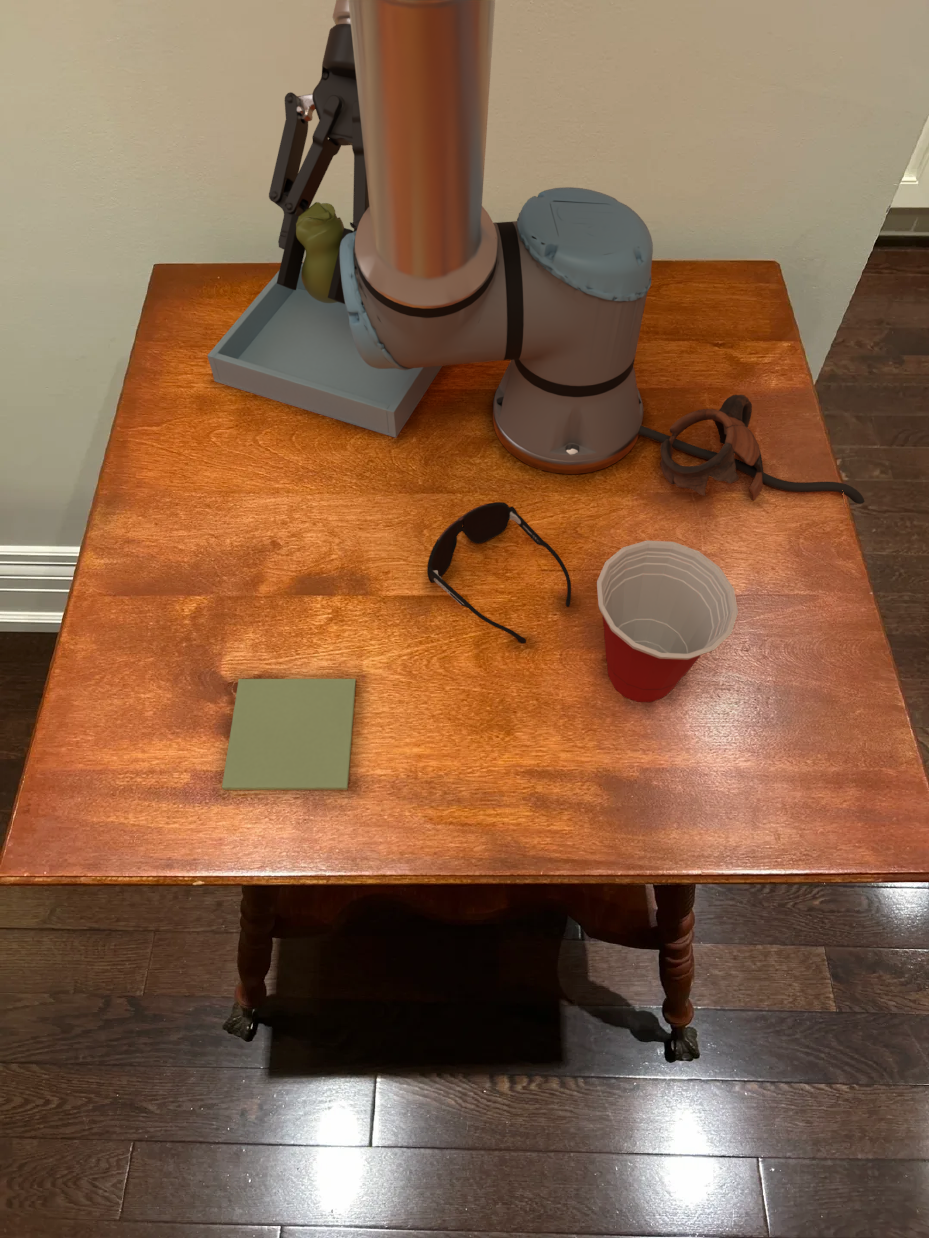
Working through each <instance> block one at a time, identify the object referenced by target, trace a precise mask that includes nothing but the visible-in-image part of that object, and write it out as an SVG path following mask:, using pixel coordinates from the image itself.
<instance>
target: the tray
mask: <svg viewBox="0 0 929 1238" xmlns="http://www.w3.org/2000/svg"><path fill="white" fill-rule="evenodd" d="M303 263H304V261H303V262H302V266H303ZM302 266H301V270H300V275H299V279H298V283H297V288H296V290H292V289H289V288H287V287H284V286H282V285H279V284H277V279H278V275H279V270H278V271H277V273H275V274H274V275H273V277H272V278H271V279H270V280H269V282H268V283H267V284H266V285H265V286H264V288H263V289H262V290H261V291H260V293H259V294H258V295H257V296H256V297H255V298H254V300H253V301H252V302H251V303H250V304H249V305H248V307H247V308H246V309H245V310H244V312H242V314H241V315H240V316H239V317H238V319H237V320H236V321H235V322H234V323H233V325H231V327H230V328H229V329H228V331H227V332H226V333H225V334H224V335H223V336H222V337H221V339H219V341H218V342H217V343H216V344H215V346H214V347H213V348H212V349H211V350H210V351H209V352H208V354H207V359H208V363H209V366H210V367H209V368H210V369H211V373H212V376H213V381H214V382H215V383H218V384H221V385H225V386H227V387H231V388H234V389H237V390H240V391H244V392H247V393H249V394H250V393H251V394H252V395H256V396H259V397H263V398H266V399H270V400H273V401H276V402H279V403H283V404H285V405H289V406H292V407H294V408H295V407H296V408H299V409H301V410H305V411H308V412H311V413H314V414H318V415H320V416H324V417H327V418H331V419H334V420H336V421H340V422H344V423H347V424H349V425H353V426H356V427H359V428H363V429H366V430H369V431H371V432H372V431H373V432H375V433H379V434H383V435H386V436H389V437H392V438H395V439H397V438H398V436H399V434H400V433H401V431H402V430H403V428H404V427H405V425H406V423H407V422H408V420H409V419H410V417H411V416H412V414H413V413H414V411H415V410H416V408H417V406H418V405H419V404H420V402H421V400H422V398H423V397H424V395H425V394H426V392H427V391H428V389H429V388H430V386H431V384H432V383H433V382H434V380H435V378H436V377H437V375H438V374H439V372H440V370H441V369H442V368H443V366H432V367H421V368H412V369H409V370H400V369H398V368H390V369H378V368H374V367H371V366H369V365H368V364H367V363H365V362H364V360H363V359H362V358H361V356H360V354H359V352H358V350H357V347H356V345H355V342H354V339H353V335H352V332H351V328H350V324H349V316H348V312H347V309H346V305H345V304H343V303H340V302H336V303H323V302H320V301H318V300H316V299H315V298H313V297H312V296H311V295H310V294H309V293H308V292H307V290H306V289H305V287H304V285H303V282H302V276H301V271H302Z"/></svg>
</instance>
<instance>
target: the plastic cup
mask: <svg viewBox="0 0 929 1238" xmlns="http://www.w3.org/2000/svg"><path fill="white" fill-rule="evenodd" d="M596 590H597V600H598V610H599V611H600V613H601V616H602V623H603V636H604V650H605V651H604V652H605V661H606V666H607V675H608V678H609V680H610V682H611V684H612V686H613V688H614V690H615V691H616V692H618V693H619V694H620V695H622V696H623V697H624V698H626V699H629V700H632V701H634V702H637V703H653V702H655V701H658V700H660V699H664V697H666V696H667V695H668V694H669V693H670V692H671V691H672V690H673V689H674V688H676V686H677V685H678V683H679V682H680V680H681V679H683V677H684V676H685V675H686V674H688V672H689V671H690V670H691V668H692V667H693V666H694V665H695V664H696V662H697V661H698V660H699V658H700V657H701V656H703V655H706V654H708V653H711V652H713V651H715V650H716V649H717V648H718V647H719V646H721V644H722V643H723V642H724V641H726V639H727V638H728V637H729V636H730V635H732V634H733V630H734V627H735V623H736V620H737V618H738V617H737V616H738V614H739V609H738V603H737V598H736V592H735V588H734V586H733V584H732V583H731V581H730V580H729V578H728V577H727V576H726V574H725V572H724V571H723V570H722V568H721V567H720V566H719V565H718V564H716V563H715V562H714V561H713V560H711V559H710V558H709V557H707V556H705V554H703V553H702V552H701V551H699V550H697V549H694V548H691V547H689V546H687V545H684V544H681V543H678V542H675V541H670V540H669V541H668V540H667V541H666V540H643V541H640V542H636V543H633V544H630V545H625V546H623V547H621V548H620V549H619V550H618V551H617V552H615V553H614V554H613V555H612V556H611V557H609V558H608V559H607V560H606V561H605V562H604V564H603V567H602V569H601V571H600V573H599V576H598V578H597V581H596Z"/></svg>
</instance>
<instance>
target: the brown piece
mask: <svg viewBox="0 0 929 1238" xmlns="http://www.w3.org/2000/svg"><path fill="white" fill-rule="evenodd" d="M752 412H753V404H752V402H751V400H750V399H749V398H748V397H747V396H746V395H744V394H733V395H730V396H728V397H727V398H726V399H725V400H724V401H723V403H722V404H721V407H720V408H719V409H714V408H702V409H698V410H694V411H691V412H689V413H686V414H685V415H684V416H681V417H680V418H678V419H676V421H675V422H673V423H672V425H671V426H670V427H669V432H670V434H671V437H670V439H666V440H665V441H664V442H663V443H660V449H659V450H660V456H661V460H660V464H659V465H660V470H661V472H662V475H663V476H664V479H665V480H666V481H667V482H668V483H669V484H670V485H672V486H673V485H674V486H675V487H677V488H680V489H686V490H692V491H694V492H695V493H697V494H699V495H701V496H703V497H705V496H706V488H707V486H708V481H709V478H710V477H711V478H712V479H713V480H714V481H717V482H726V483H727V484H734V483H735V482H737V481H738V480H739V479H740V476H739V474H738V472H737V469H736V464H735V459H734V458H735V455H737V456H738V457H739V458H741V459H742V461H743V462H745V463H746V464H748V465H750V466H753V467H755V468H756V470H757V473H756V476H755V478H753V480H752V482H751V484H749V487H748V491H749V493H750V500H751V501H756V500H757V498H758V497H759V495H760V493H761V491H762V488H763V484H764V483H763V478H762V476H763V472H764V466H763V465H764V464H763V458H762V453H761V449H760V445H759V443H758V441H757V438H756V437H755V435H754V432H752V430H751V429H750V428H749V424H750V421H751V417H752V414H753V413H752ZM704 421H713V422H714V425H715V427H716V429H717V433H718V436H719V437H718V438H719V443H720V444H721V445H722V447H721V448H720V450H718V451H717V454H716V455H715V456H714V457H713V458H711V459H710V460H707V461H705V462H702V463H701V464H696V465H683V464H682V465H681V464H679V463H677V462H675V460H674V459H673V455H674V448H673V447H672V443H673V441H674V440H675V439H678V437H679V435H680V434H681V433H683V432H684V431H685V430H687V429H688V428H689V427H691V426H693V425H696V424H697V423H700V422H704Z"/></svg>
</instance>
